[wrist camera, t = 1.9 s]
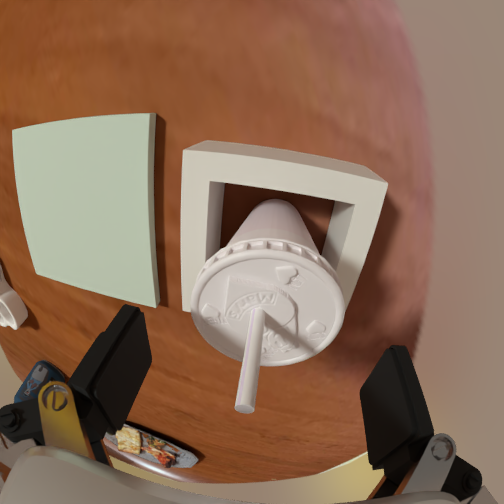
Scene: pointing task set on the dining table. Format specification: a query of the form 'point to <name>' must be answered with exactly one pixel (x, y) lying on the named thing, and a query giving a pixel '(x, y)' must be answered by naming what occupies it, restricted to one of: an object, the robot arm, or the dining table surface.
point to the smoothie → (267, 296)
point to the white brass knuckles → (10, 305)
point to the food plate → (150, 448)
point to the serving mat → (91, 203)
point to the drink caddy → (284, 179)
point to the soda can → (38, 380)
